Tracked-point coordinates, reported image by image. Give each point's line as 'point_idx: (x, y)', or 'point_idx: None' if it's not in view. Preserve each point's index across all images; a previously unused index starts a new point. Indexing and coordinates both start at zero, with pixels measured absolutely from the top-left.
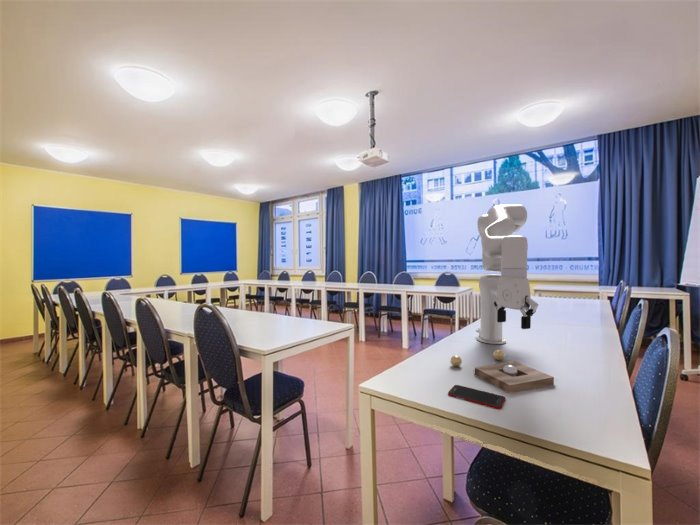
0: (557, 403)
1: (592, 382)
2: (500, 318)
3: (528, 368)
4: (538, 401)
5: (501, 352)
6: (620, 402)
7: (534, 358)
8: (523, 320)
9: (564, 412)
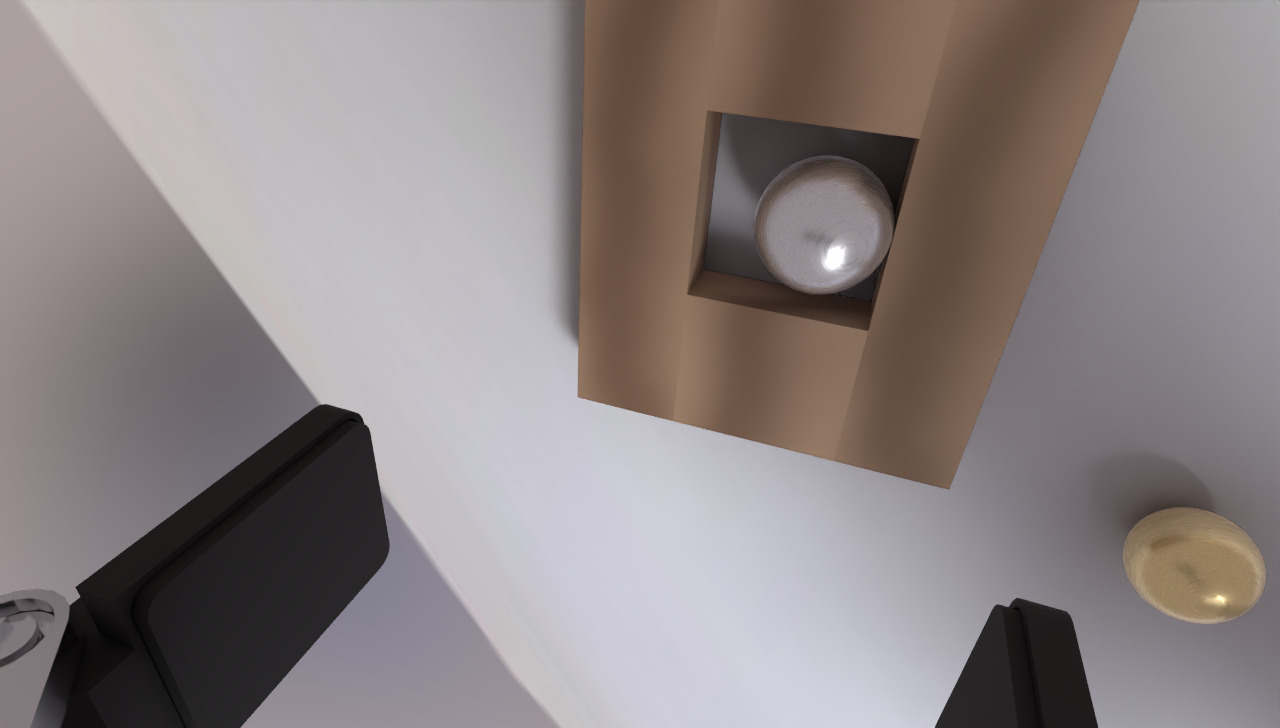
0: (400, 105)
1: (546, 558)
2: (994, 715)
3: (773, 417)
4: (448, 3)
5: (1161, 581)
6: None
7: None
8: (178, 525)
9: (303, 17)
